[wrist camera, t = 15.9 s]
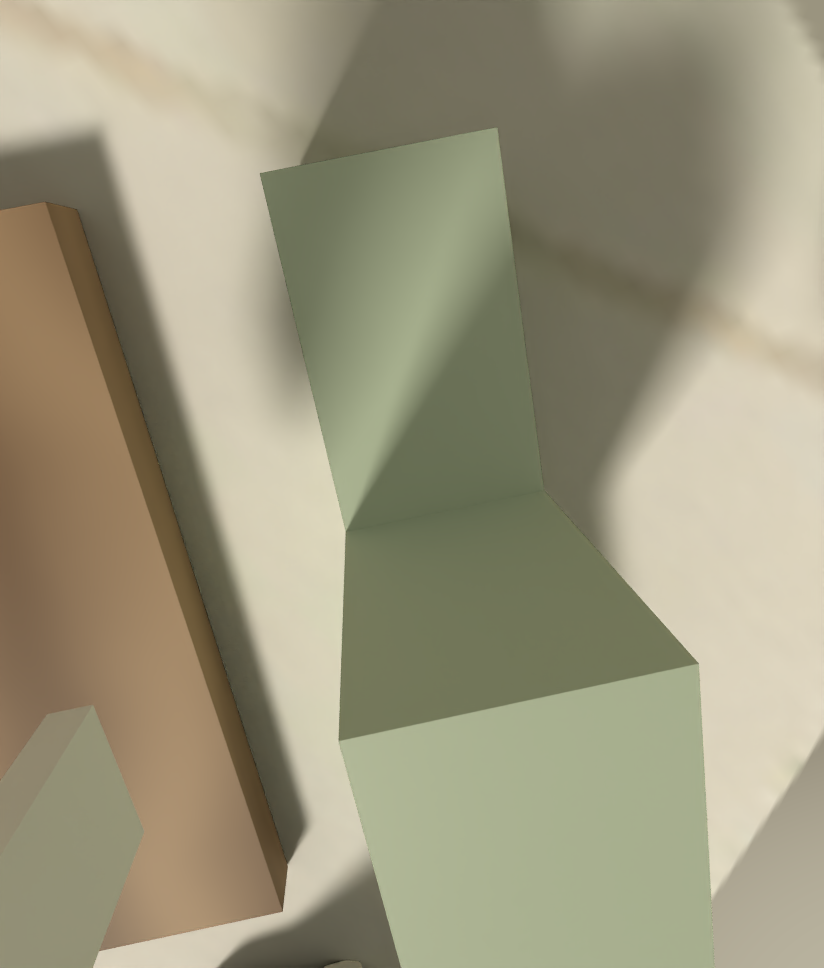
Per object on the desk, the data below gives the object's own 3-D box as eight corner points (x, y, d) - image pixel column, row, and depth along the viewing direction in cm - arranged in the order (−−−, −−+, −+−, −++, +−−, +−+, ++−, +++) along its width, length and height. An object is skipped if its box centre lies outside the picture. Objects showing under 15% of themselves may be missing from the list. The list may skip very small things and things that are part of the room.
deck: (-3, 928, 20) (-31, 978, 18) (-345, 288, 14) (-427, 289, 12) (287, 865, 20) (282, 911, 18) (76, 209, 14) (45, 201, 12)
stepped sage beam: (427, 817, 20) (493, 1303, 11) (284, 200, 14) (149, 51, 5) (552, 790, 20) (729, 1248, 11) (459, 166, 14) (661, -48, 5)
